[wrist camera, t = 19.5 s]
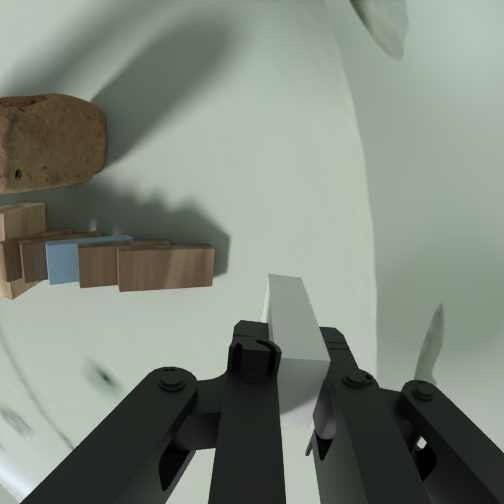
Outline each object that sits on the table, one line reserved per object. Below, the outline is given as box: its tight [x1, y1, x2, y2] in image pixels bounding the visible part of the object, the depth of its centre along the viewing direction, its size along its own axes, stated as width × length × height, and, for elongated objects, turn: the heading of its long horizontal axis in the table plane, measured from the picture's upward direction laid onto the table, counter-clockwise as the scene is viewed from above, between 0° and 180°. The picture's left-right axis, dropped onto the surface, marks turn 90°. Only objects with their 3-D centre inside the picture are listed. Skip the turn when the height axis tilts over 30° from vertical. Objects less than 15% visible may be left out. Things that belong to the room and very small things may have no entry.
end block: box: [0, 202, 46, 300], centre depth 36 cm, size 6×12×10 cm, turn 173°
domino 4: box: [77, 239, 171, 288], centre depth 37 cm, size 2×5×12 cm
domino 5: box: [117, 244, 215, 292], centre depth 38 cm, size 2×5×12 cm
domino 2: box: [19, 231, 102, 284], centre depth 36 cm, size 2×5×12 cm
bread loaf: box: [0, 93, 107, 194], centre depth 28 cm, size 11×8×20 cm
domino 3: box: [46, 235, 134, 285], centre depth 37 cm, size 2×5×12 cm
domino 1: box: [0, 228, 73, 283], centre depth 35 cm, size 2×5×12 cm, turn 174°
